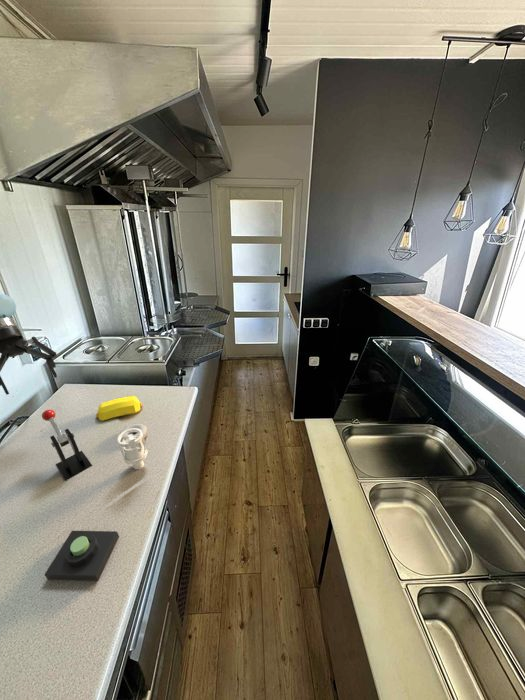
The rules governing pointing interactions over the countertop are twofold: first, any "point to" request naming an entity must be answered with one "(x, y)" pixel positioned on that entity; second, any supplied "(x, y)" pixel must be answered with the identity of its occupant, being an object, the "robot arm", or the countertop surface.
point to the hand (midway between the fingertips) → (32, 384)
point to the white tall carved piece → (133, 448)
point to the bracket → (70, 458)
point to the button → (79, 546)
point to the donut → (139, 426)
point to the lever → (55, 427)
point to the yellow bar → (118, 407)
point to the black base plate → (83, 557)
